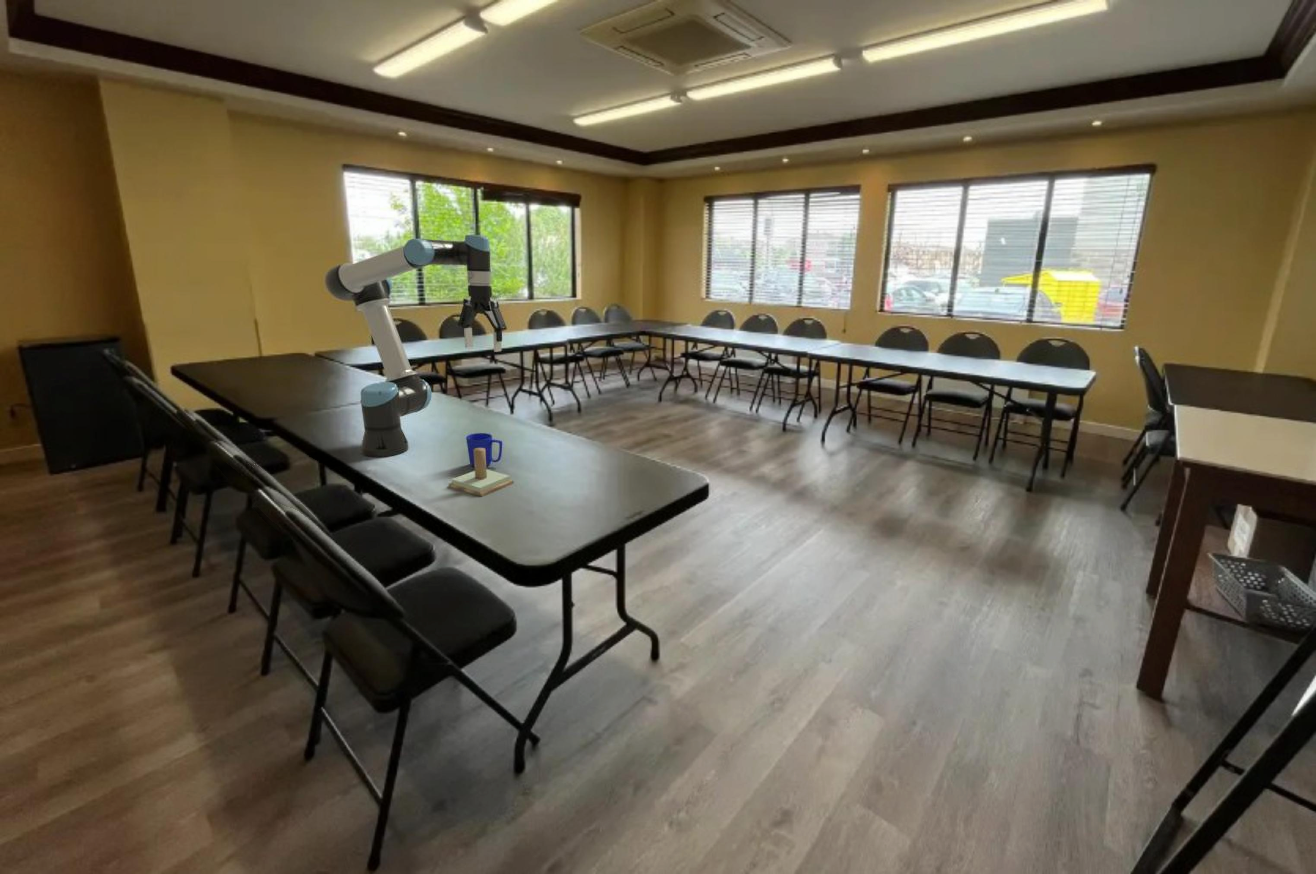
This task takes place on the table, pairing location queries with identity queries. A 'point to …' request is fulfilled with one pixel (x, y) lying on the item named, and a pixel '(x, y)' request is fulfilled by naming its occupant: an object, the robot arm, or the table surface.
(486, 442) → the mug
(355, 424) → the table surface
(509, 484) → the mat
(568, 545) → the table surface
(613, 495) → the table surface
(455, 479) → the lid
